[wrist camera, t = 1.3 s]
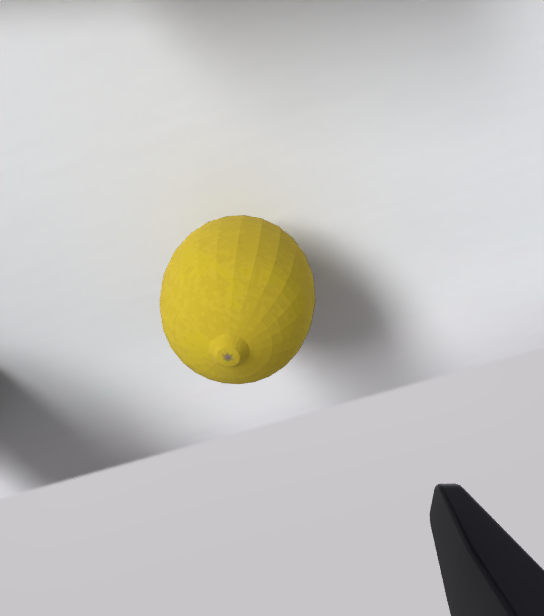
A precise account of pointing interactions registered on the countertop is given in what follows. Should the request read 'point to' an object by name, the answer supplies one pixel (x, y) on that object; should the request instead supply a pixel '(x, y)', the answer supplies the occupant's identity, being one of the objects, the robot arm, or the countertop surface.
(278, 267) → the lemon
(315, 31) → the countertop surface
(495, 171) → the countertop surface
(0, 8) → the countertop surface
